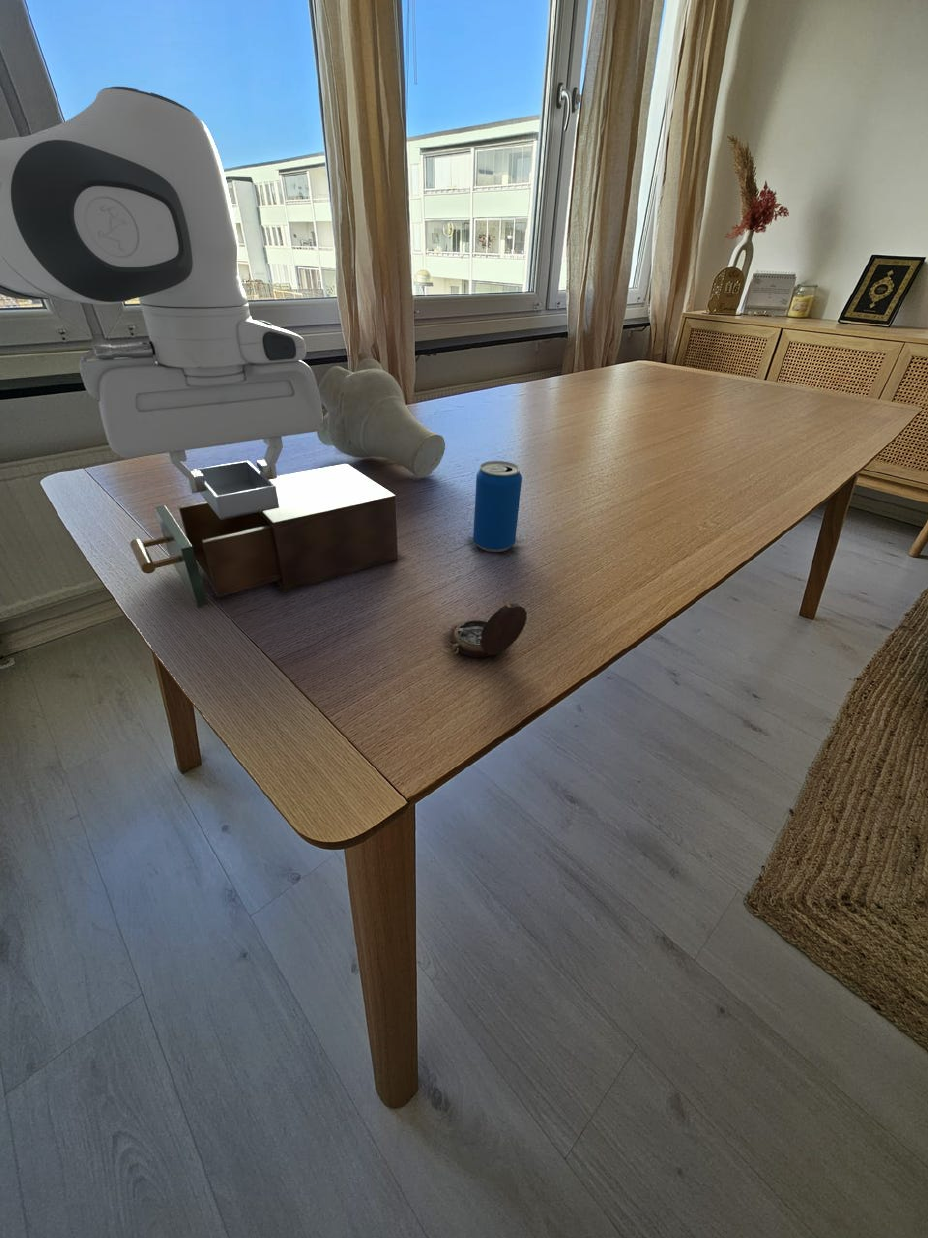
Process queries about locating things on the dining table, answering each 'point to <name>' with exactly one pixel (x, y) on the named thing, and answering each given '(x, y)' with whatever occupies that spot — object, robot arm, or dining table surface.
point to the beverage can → (496, 505)
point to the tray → (238, 490)
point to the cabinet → (330, 525)
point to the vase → (375, 419)
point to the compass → (489, 632)
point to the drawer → (214, 550)
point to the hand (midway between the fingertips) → (234, 484)
